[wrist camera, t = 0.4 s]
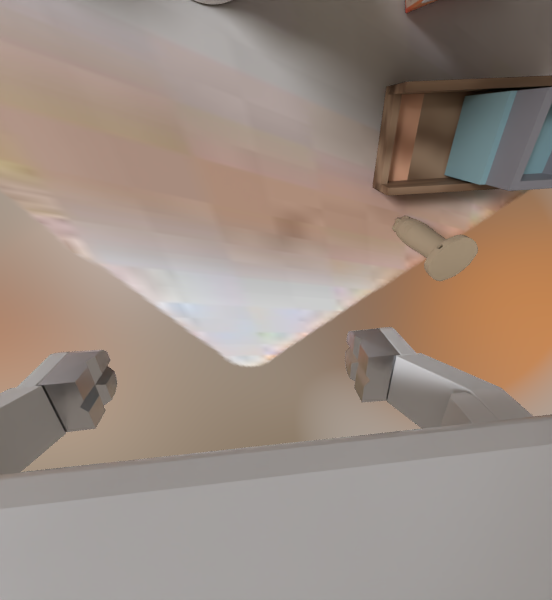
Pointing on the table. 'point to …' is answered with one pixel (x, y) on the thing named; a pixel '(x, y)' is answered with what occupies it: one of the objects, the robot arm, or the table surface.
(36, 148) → the table surface
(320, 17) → the table surface
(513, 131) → the box
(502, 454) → the robot arm
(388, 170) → the bay
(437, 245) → the handle
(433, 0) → the cracker box
